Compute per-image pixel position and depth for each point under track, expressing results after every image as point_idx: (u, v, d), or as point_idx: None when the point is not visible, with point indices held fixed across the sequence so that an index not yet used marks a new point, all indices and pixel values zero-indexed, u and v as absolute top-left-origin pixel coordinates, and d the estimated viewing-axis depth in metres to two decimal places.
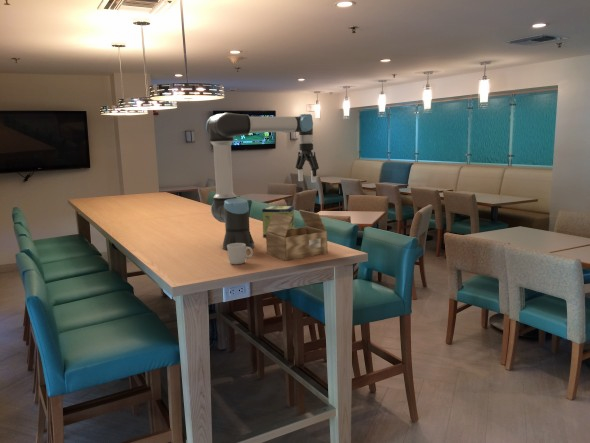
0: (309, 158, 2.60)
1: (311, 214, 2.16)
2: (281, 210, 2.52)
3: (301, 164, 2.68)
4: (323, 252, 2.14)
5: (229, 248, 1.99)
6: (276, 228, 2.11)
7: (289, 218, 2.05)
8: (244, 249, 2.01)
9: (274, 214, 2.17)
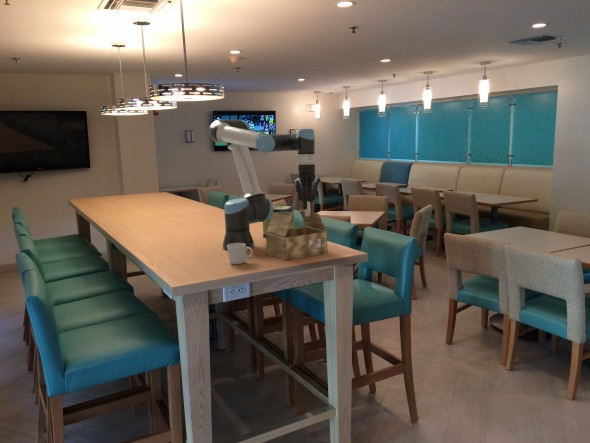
0: (303, 185, 2.15)
1: (311, 214, 2.16)
2: (281, 210, 2.52)
3: (308, 192, 2.17)
4: (323, 252, 2.14)
5: (229, 248, 1.99)
6: (276, 228, 2.11)
7: (289, 218, 2.05)
8: (244, 249, 2.01)
9: (274, 214, 2.17)
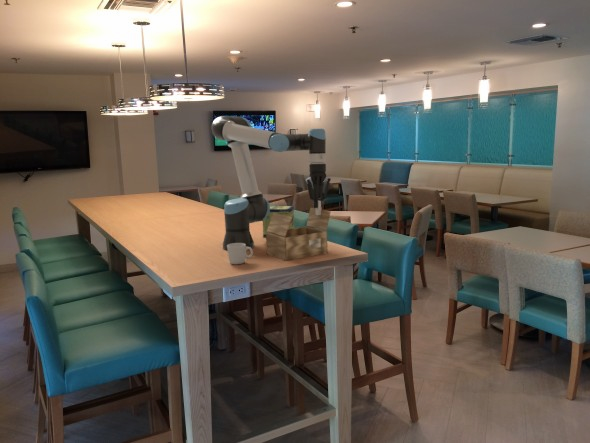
0: (314, 184, 2.18)
1: (322, 211, 2.19)
2: (281, 210, 2.52)
3: (318, 191, 2.19)
4: (323, 252, 2.14)
5: (229, 248, 1.99)
6: (276, 228, 2.11)
7: (289, 218, 2.05)
8: (244, 249, 2.01)
9: (274, 214, 2.17)
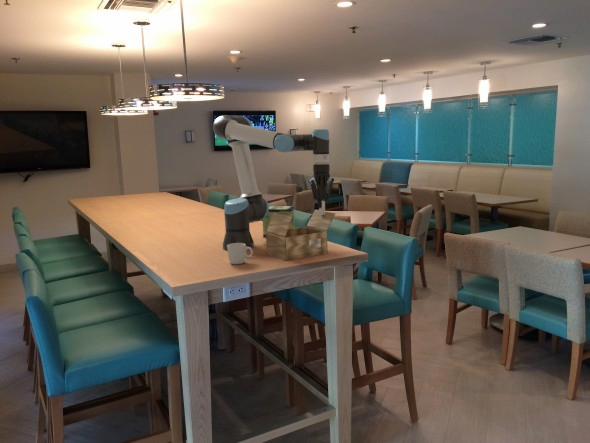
0: (317, 184, 2.19)
1: (326, 213, 2.20)
2: (281, 210, 2.52)
3: (322, 191, 2.21)
4: (323, 252, 2.14)
5: (229, 248, 1.99)
6: (276, 228, 2.11)
7: (289, 218, 2.05)
8: (244, 249, 2.01)
9: (274, 214, 2.17)
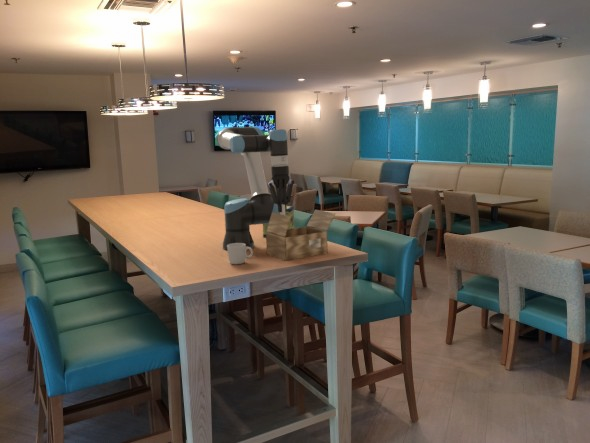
0: (277, 187, 2.08)
1: (326, 213, 2.20)
2: None
3: (282, 195, 2.10)
4: (323, 252, 2.14)
5: (229, 248, 1.99)
6: (276, 228, 2.11)
7: (288, 218, 2.05)
8: (244, 249, 2.01)
9: (273, 214, 2.16)
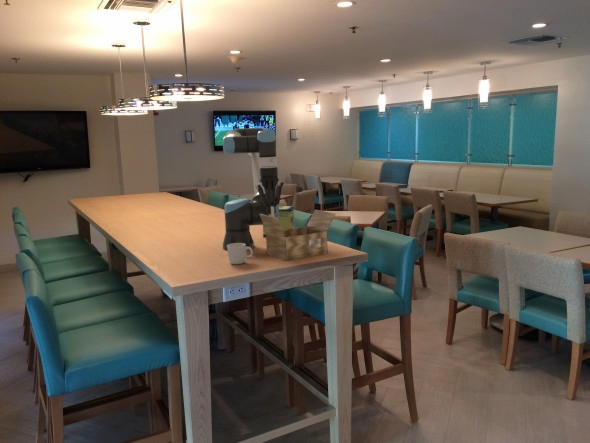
0: (265, 189, 2.05)
1: (326, 213, 2.20)
2: (281, 210, 2.52)
3: (271, 196, 2.07)
4: (323, 252, 2.14)
5: (229, 248, 1.99)
6: (272, 229, 2.10)
7: (276, 219, 2.02)
8: (244, 249, 2.01)
9: (261, 215, 2.13)
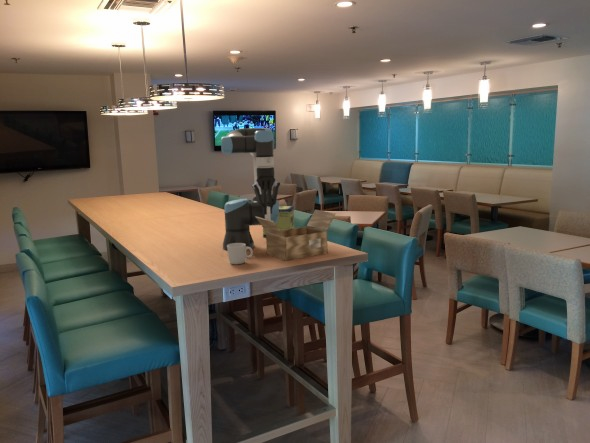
0: (262, 189, 2.05)
1: (326, 213, 2.20)
2: (281, 210, 2.52)
3: (267, 197, 2.06)
4: (323, 252, 2.14)
5: (229, 248, 1.99)
6: (271, 230, 2.10)
7: (272, 222, 2.01)
8: (244, 249, 2.01)
9: (257, 218, 2.12)
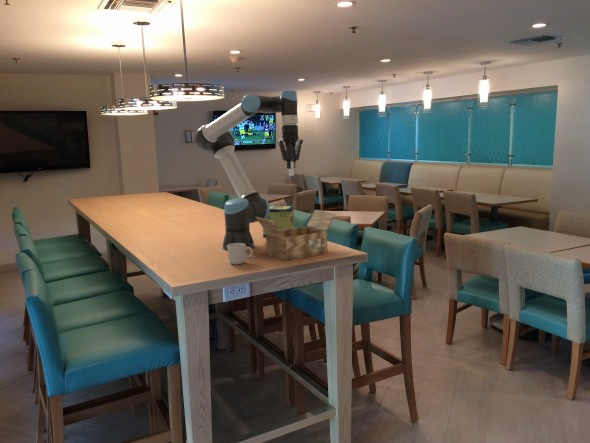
0: (286, 145, 2.23)
1: (326, 213, 2.20)
2: (281, 210, 2.52)
3: (291, 153, 2.25)
4: (323, 252, 2.14)
5: (229, 248, 1.99)
6: (271, 230, 2.10)
7: (272, 222, 2.01)
8: (244, 249, 2.01)
9: (257, 218, 2.12)
